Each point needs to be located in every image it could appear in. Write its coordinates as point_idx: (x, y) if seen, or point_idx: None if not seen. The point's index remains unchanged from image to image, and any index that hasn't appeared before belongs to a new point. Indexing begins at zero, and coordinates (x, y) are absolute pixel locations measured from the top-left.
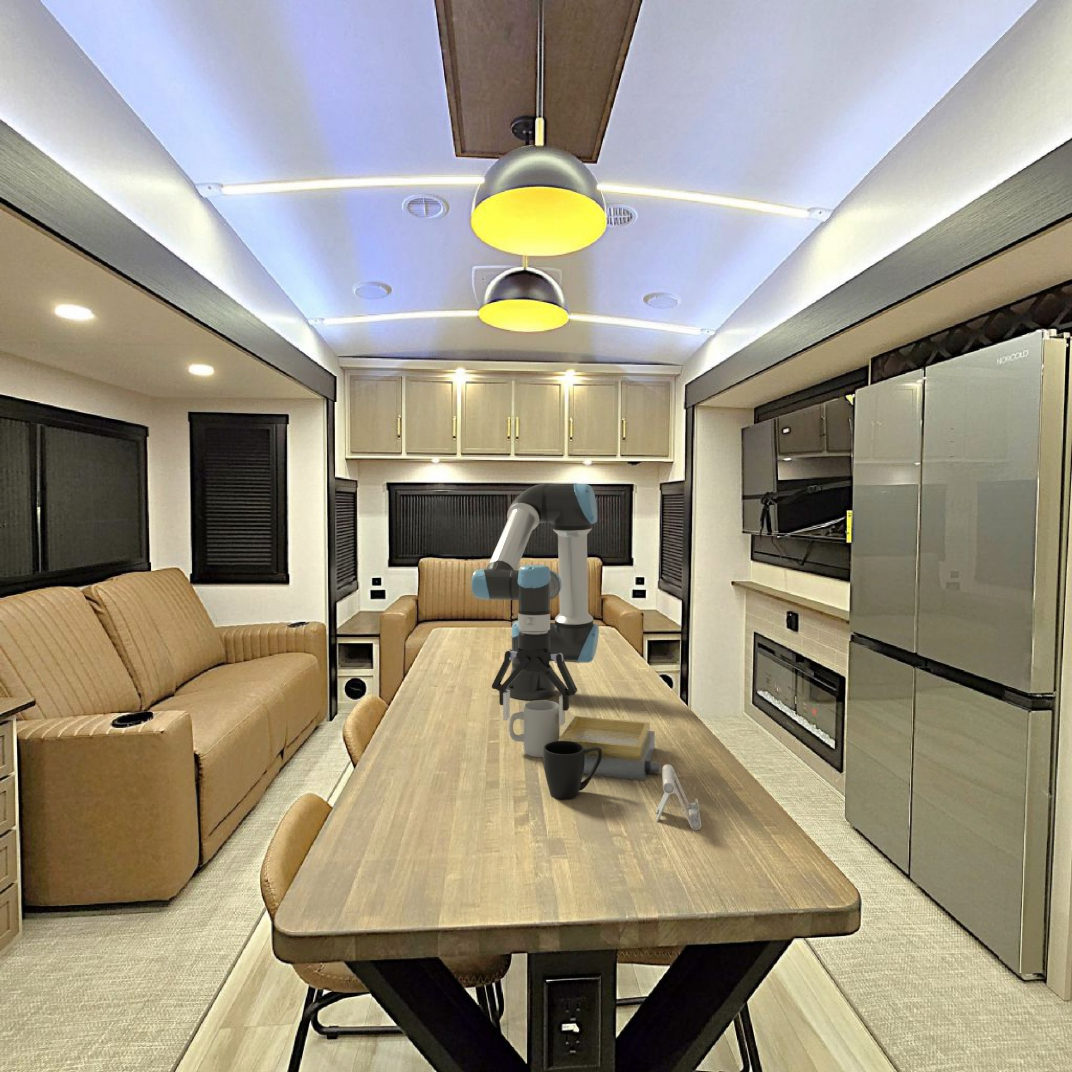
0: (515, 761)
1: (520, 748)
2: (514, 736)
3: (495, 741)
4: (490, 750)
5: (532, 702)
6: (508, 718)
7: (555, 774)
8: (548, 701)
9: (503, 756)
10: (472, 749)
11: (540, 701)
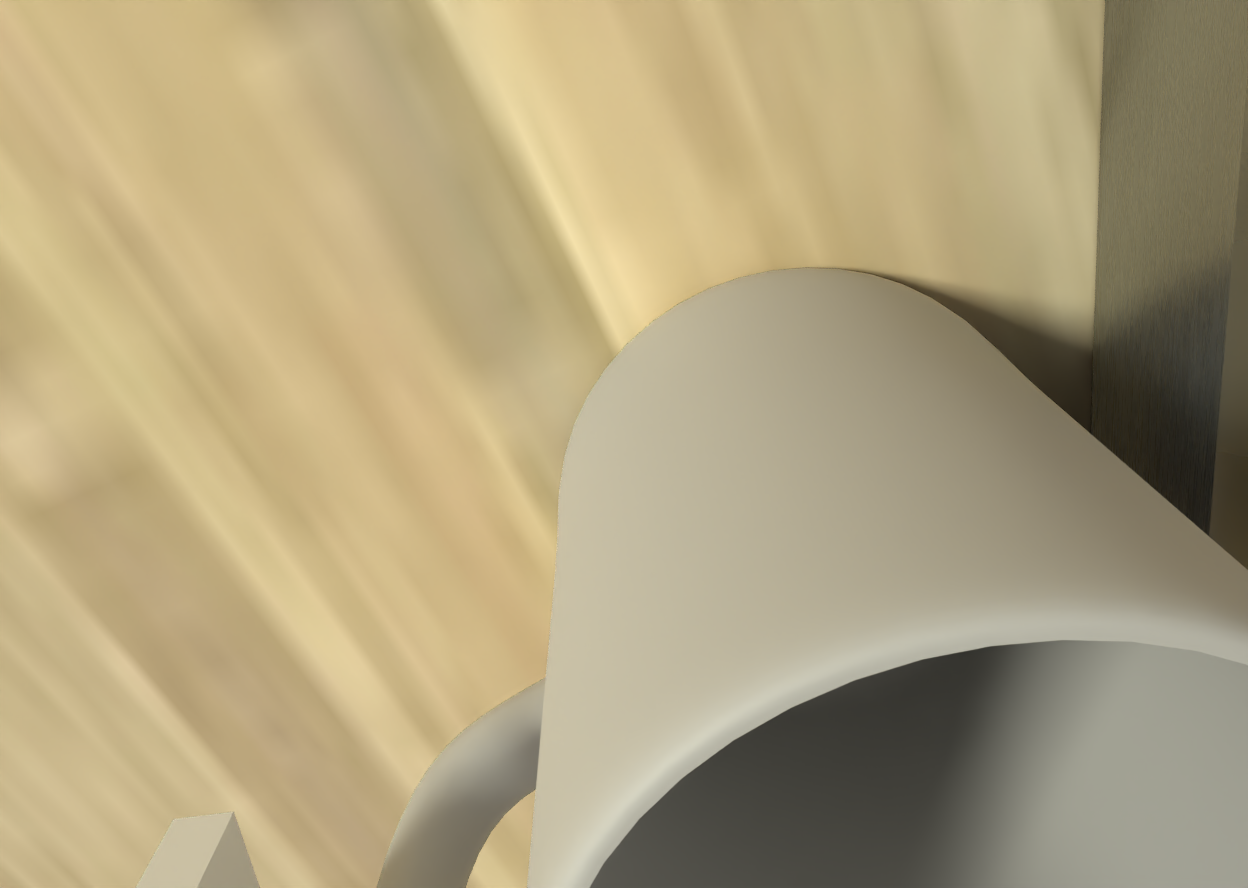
0: None
1: (503, 515)
2: (498, 820)
3: (64, 425)
4: (213, 701)
5: (623, 820)
6: (254, 874)
7: None
8: (1080, 632)
9: None
10: (11, 750)
11: (820, 686)
